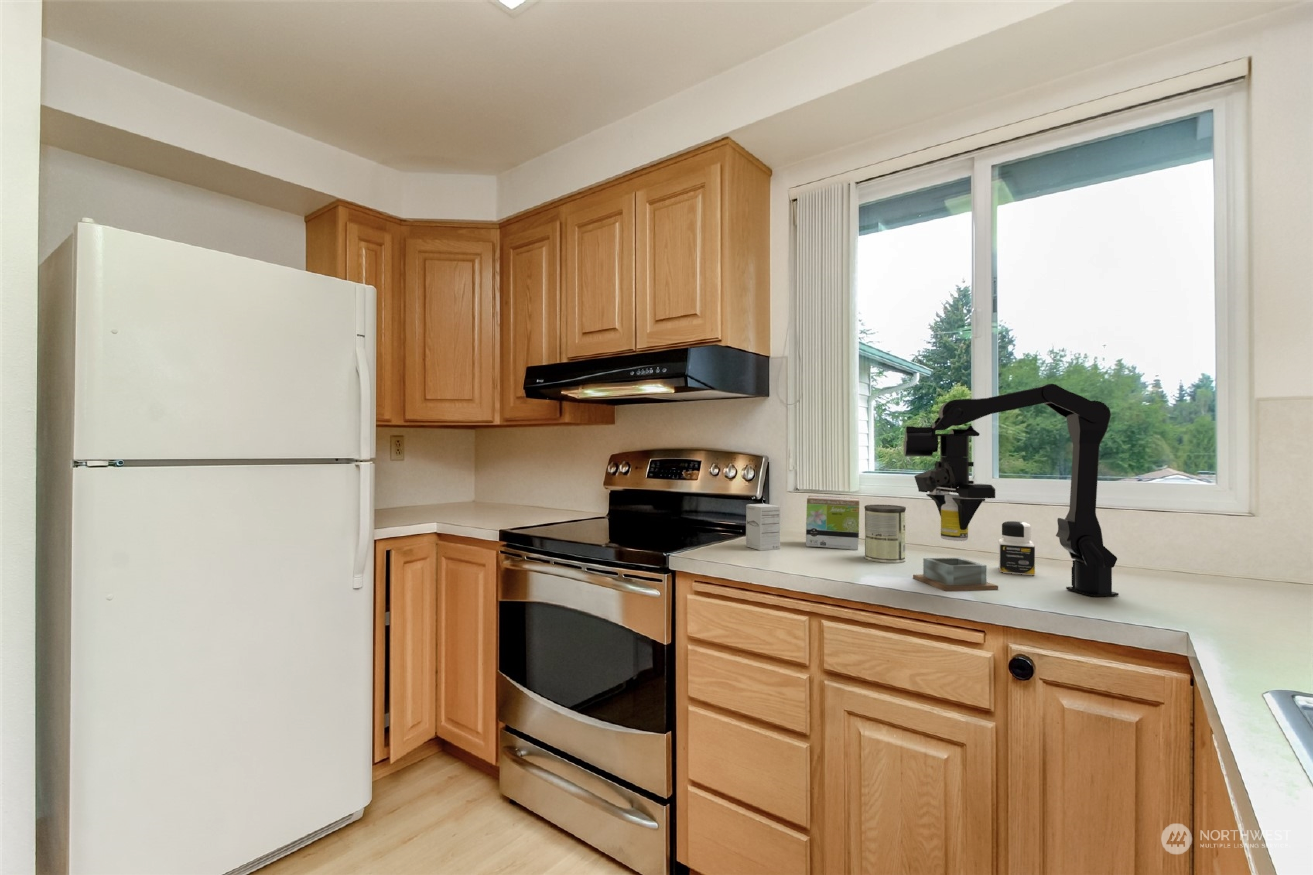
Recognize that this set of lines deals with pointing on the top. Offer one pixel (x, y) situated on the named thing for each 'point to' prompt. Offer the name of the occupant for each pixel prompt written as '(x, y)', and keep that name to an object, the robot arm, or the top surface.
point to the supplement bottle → (951, 520)
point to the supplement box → (763, 526)
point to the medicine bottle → (1016, 549)
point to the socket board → (954, 574)
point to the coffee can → (885, 533)
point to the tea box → (832, 522)
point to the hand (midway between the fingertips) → (954, 527)
